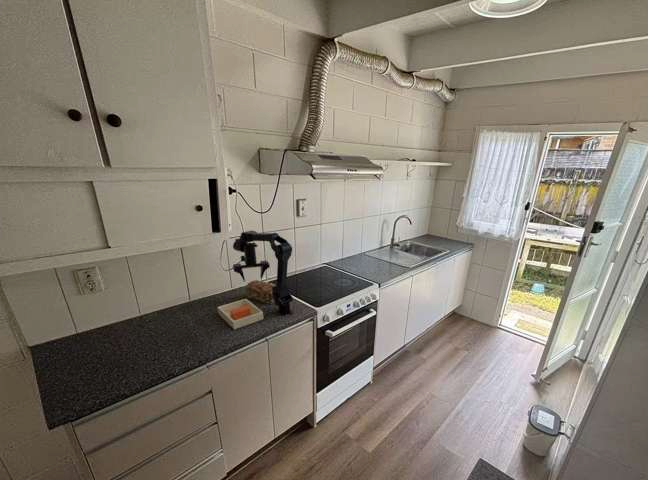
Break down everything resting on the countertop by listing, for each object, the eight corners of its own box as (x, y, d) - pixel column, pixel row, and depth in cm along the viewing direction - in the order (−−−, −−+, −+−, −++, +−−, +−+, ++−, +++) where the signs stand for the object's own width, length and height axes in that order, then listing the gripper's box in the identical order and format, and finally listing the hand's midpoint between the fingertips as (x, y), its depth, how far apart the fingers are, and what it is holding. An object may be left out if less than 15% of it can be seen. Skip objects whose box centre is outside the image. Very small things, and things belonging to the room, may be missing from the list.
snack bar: (250, 315, 158) (250, 308, 156) (234, 320, 152) (233, 313, 150) (247, 312, 160) (246, 305, 159) (230, 317, 154) (229, 310, 153)
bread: (246, 298, 175) (244, 283, 171) (258, 291, 185) (256, 277, 181) (272, 305, 169) (270, 289, 165) (283, 298, 178) (282, 283, 174)
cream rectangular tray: (263, 319, 155) (263, 312, 153) (234, 330, 145) (233, 322, 143) (246, 305, 168) (246, 298, 166) (218, 314, 157) (217, 306, 155)
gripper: (264, 248, 173) (266, 273, 179) (230, 251, 164) (233, 277, 170) (268, 253, 164) (270, 279, 170) (232, 257, 155) (236, 284, 161)
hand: (252, 280), depth 168 cm, fingers open, 9 cm apart
